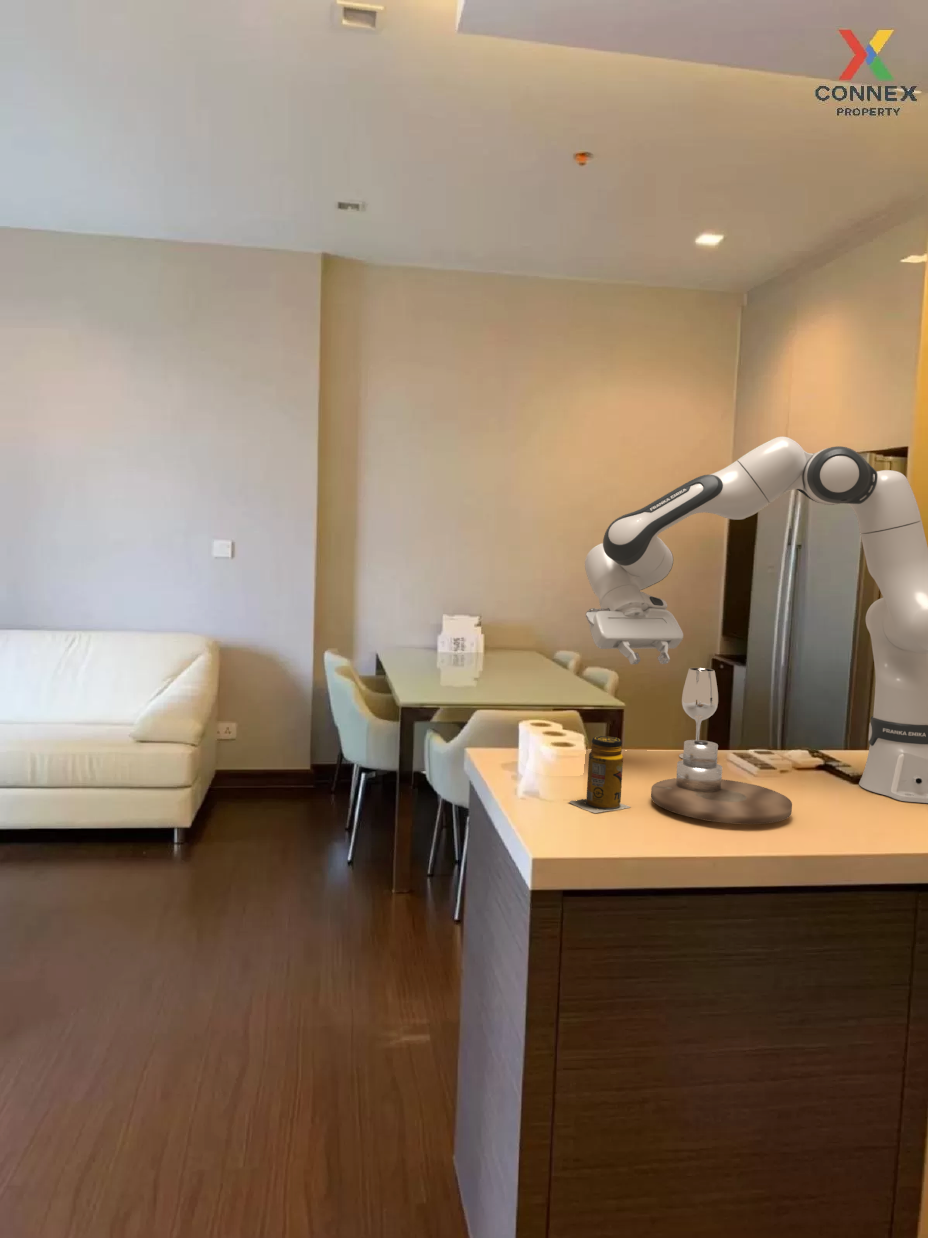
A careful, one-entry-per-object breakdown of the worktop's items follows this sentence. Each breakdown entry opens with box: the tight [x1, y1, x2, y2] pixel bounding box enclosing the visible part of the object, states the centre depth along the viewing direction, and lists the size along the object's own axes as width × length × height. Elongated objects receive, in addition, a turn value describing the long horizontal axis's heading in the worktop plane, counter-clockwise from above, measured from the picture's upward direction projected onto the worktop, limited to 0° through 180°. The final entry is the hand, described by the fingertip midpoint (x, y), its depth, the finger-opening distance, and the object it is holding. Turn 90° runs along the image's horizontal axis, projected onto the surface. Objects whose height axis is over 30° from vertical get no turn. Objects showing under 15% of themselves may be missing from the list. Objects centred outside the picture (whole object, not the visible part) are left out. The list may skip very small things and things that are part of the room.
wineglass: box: [678, 667, 719, 760], centre depth 196 cm, size 8×8×20 cm
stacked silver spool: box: [676, 739, 723, 792], centre depth 162 cm, size 8×8×8 cm
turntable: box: [650, 778, 793, 825], centre depth 157 cm, size 24×24×2 cm
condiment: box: [569, 735, 631, 814], centre depth 156 cm, size 7×8×12 cm
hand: (650, 662), depth 175 cm, fingers open, 6 cm apart
